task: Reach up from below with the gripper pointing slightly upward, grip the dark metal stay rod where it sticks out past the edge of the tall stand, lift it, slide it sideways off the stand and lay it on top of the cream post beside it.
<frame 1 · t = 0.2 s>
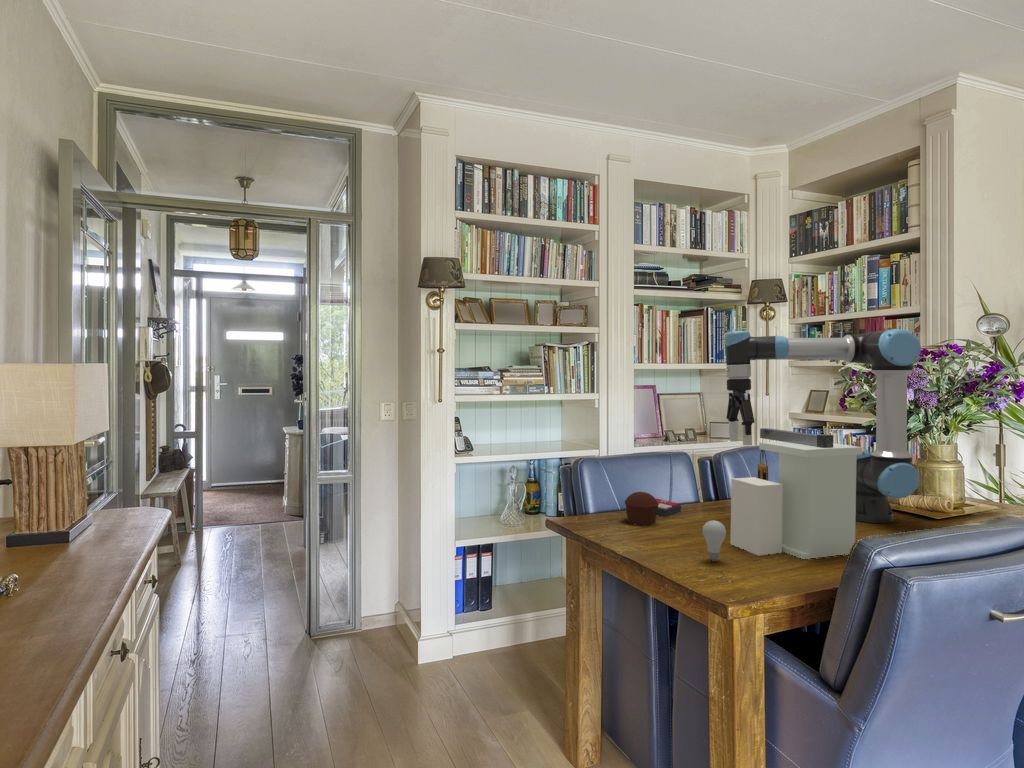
hand: (740, 443, 209), 27 cm above the table, tool pointing down, fingers open, 13 cm apart
red and black box: (655, 512, 232), on the table
lightbulb: (713, 562, 172), on the table
stand: (807, 547, 185), on the table
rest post: (755, 548, 184), on the table
muffin: (641, 523, 215), on the table
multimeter: (771, 498, 257), on the table
stay rod: (794, 442, 190), point 30 cm above the table, touching stand
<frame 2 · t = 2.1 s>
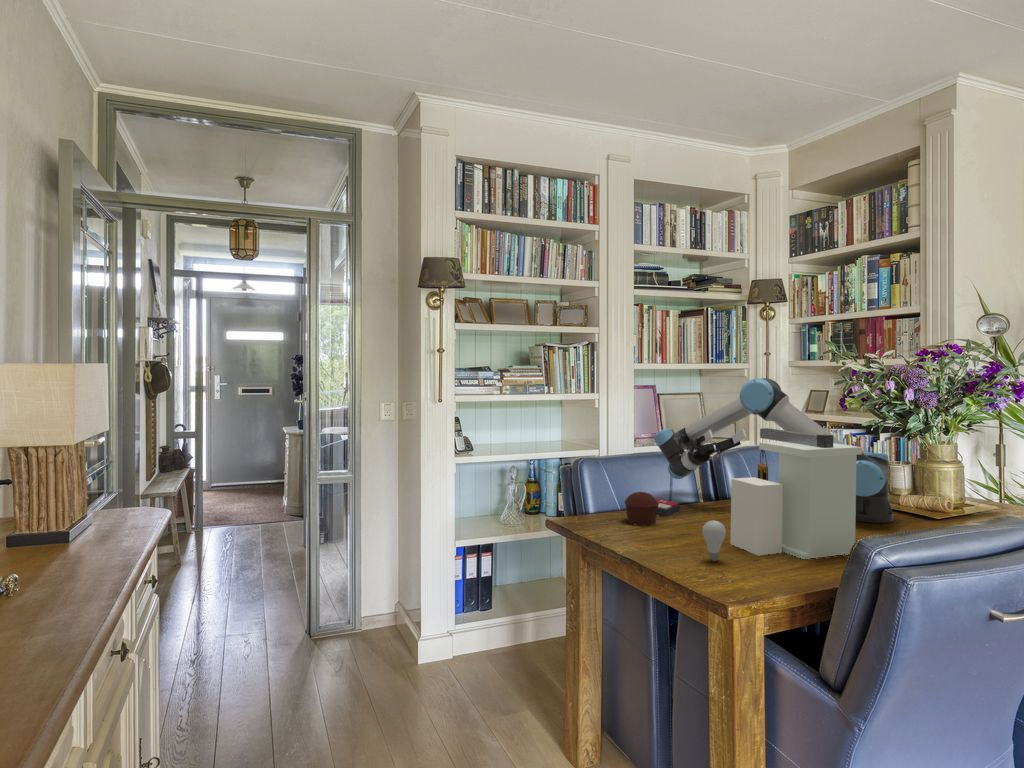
hand: (727, 433, 219), 30 cm above the table, tool pointing upward, fingers open, 13 cm apart
nothing on the table moved.
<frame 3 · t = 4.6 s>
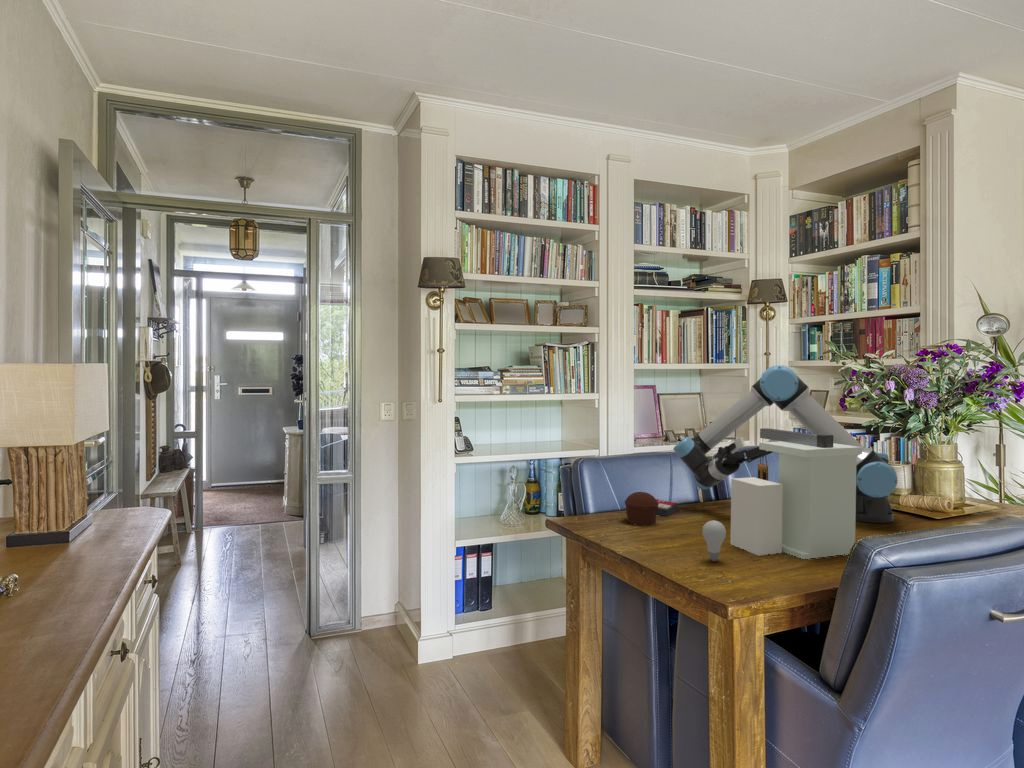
hand: (760, 440, 203), 29 cm above the table, tool pointing upward, fingers open, 13 cm apart
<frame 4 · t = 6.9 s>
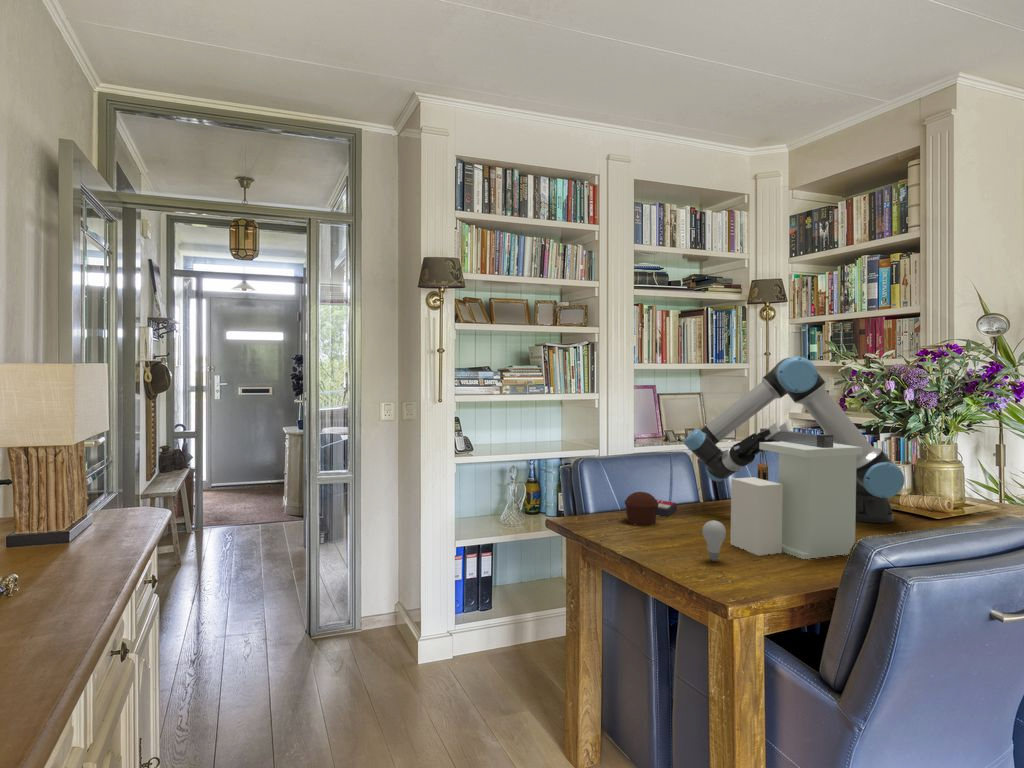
hand: (782, 426, 194), 34 cm above the table, tool pointing upward, fingers closed on stay rod, 3 cm apart
stay rod: (794, 442, 190), point 30 cm above the table, touching gripper, stand
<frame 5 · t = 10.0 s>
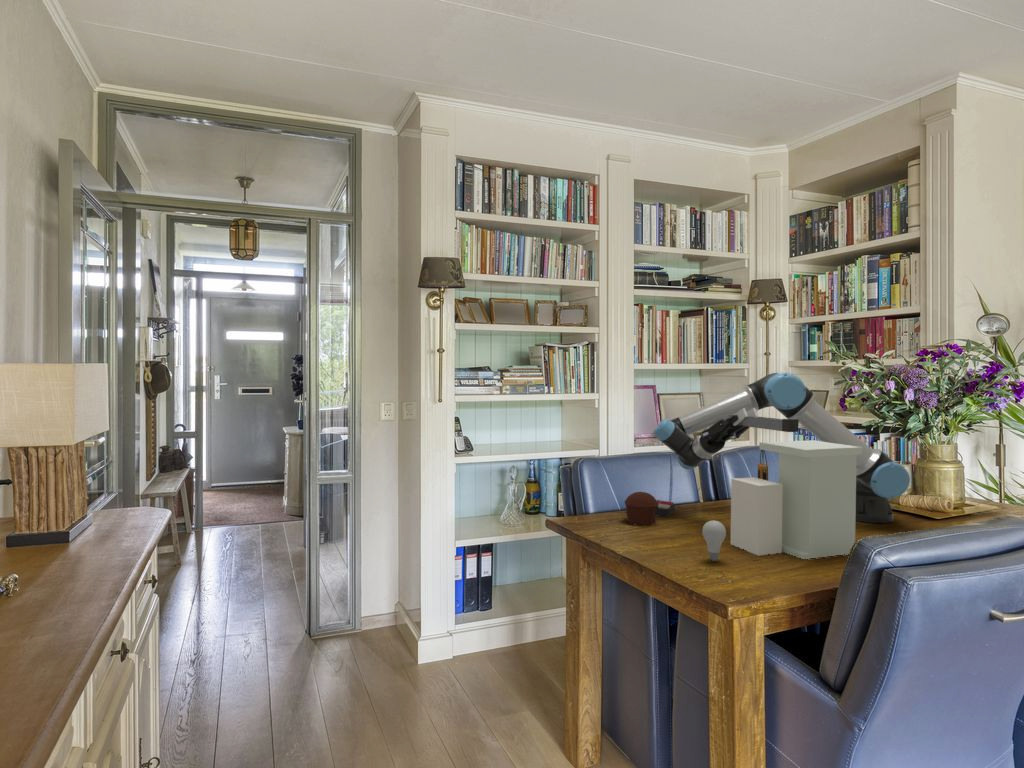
hand: (750, 412, 191), 39 cm above the table, tool pointing upward, fingers closed on stay rod, 3 cm apart
stay rod: (761, 427, 187), point 35 cm above the table, touching gripper
when the fingers open (25 cm above the table, at t = 13.1 s): stay rod drops 2 cm, resting on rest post.
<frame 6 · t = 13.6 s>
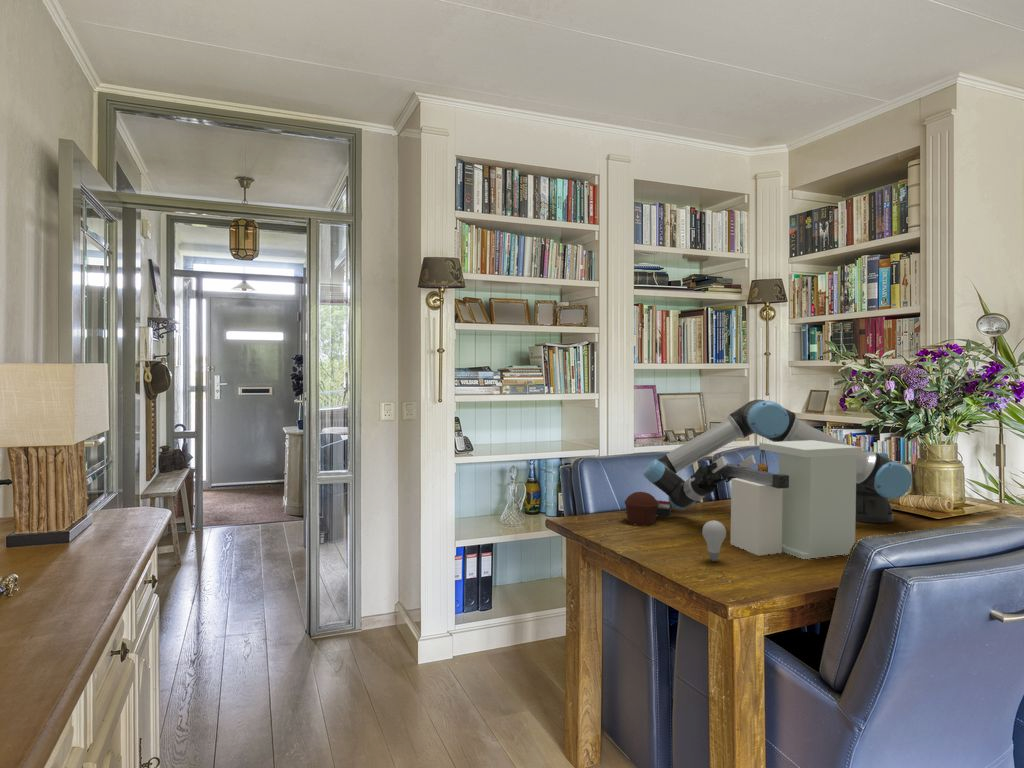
hand: (739, 459, 191), 25 cm above the table, tool pointing upward, fingers open, 10 cm apart
stay rod: (751, 480, 185), point 19 cm above the table, touching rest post
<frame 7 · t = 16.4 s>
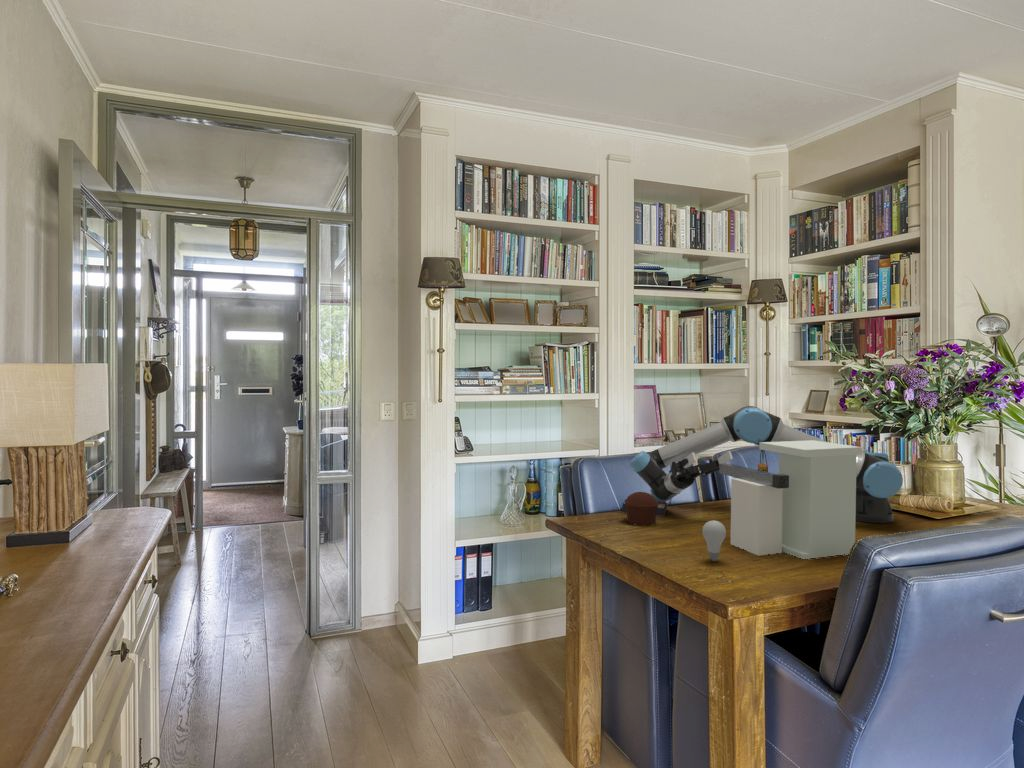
hand: (712, 455, 203), 24 cm above the table, tool pointing upward, fingers open, 13 cm apart
red and black box: (644, 512, 232), on the table
everything else where it was.
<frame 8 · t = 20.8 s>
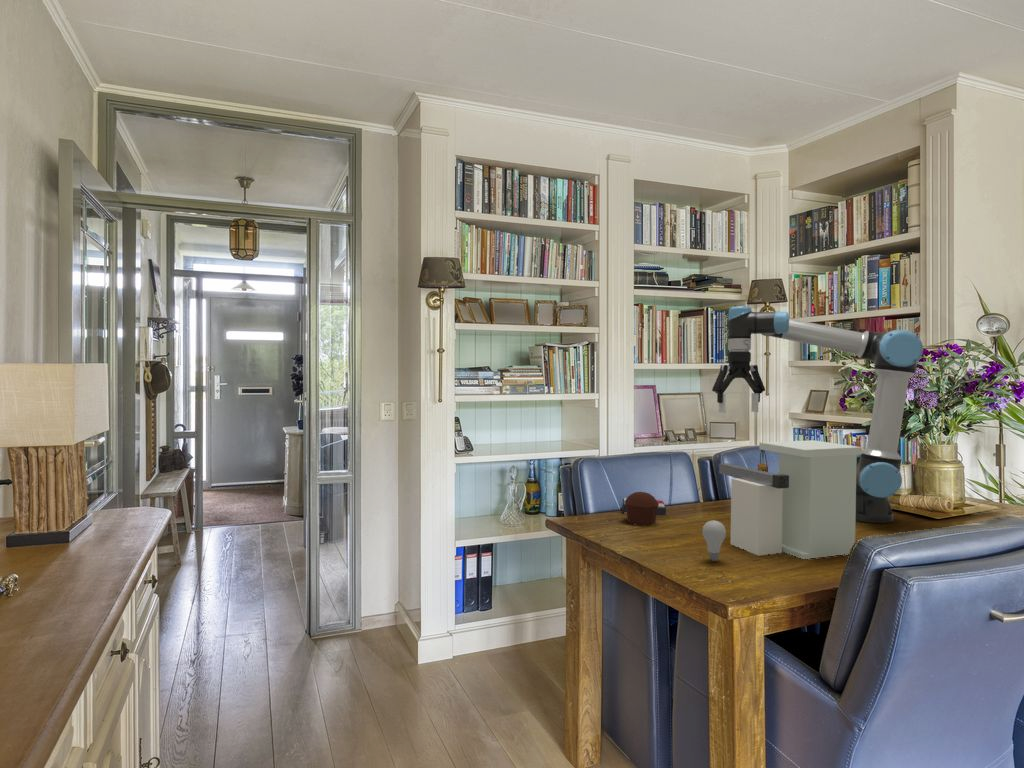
hand: (738, 412, 222), 37 cm above the table, tool pointing down, fingers open, 13 cm apart
at the end: stay rod touching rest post; the gripper is holding nothing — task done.
